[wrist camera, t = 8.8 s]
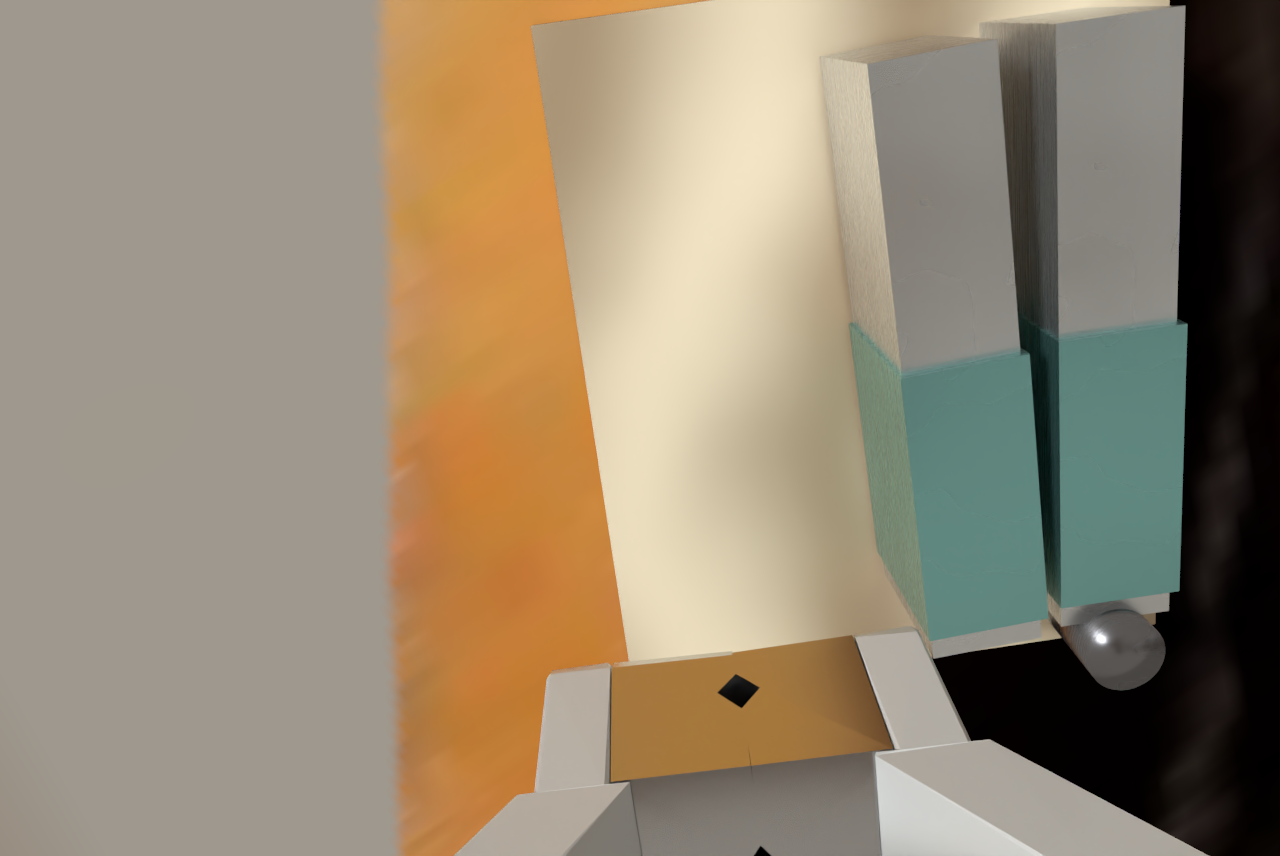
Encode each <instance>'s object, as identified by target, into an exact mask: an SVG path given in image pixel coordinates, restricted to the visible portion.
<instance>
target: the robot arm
mask: <svg viewBox="0 0 1280 856" xmlns="http://www.w3.org/2000/svg"><path fill="white" fill-rule="evenodd" d="M454 856H1208V855H1207V854H1205V853H1203V852H1201V851H1199V850H1197V849H1195V848H1193V847H1191V846H1190V845H1188V844H1186V843H1184V842H1182V841H1180V840H1178V839H1176V838H1175V837H1173V836H1171V835H1169V834H1167V833H1165V832H1163V831H1161V830H1159V829H1158V828H1156V827H1154V826H1152V825H1150V824H1148V823H1146V822H1144V821H1142V820H1141V819H1139V818H1137V817H1135V816H1133V815H1131V814H1129V813H1127V812H1126V811H1124V810H1122V809H1120V808H1118V807H1116V806H1114V805H1112V804H1110V803H1109V802H1107V801H1105V800H1103V799H1101V798H1099V797H1097V796H1095V795H1093V794H1092V793H1090V792H1088V791H1086V790H1084V789H1082V788H1080V787H1078V786H1077V785H1075V784H1073V783H1071V782H1069V781H1067V780H1065V779H1063V778H1061V777H1060V776H1058V775H1056V774H1054V773H1052V772H1050V771H1048V770H1046V769H1044V768H1043V767H1041V766H1039V765H1037V764H1035V763H1033V762H1031V761H1029V760H1028V759H1026V758H1024V757H1022V756H1020V755H1018V754H1016V753H1014V752H1012V751H1011V750H1009V749H1007V748H1005V747H1003V746H1001V745H999V744H997V743H995V742H994V741H992V740H989V739H988V740H979V741H971V740H970V738H969V736H968V734H967V731H966V729H965V727H964V725H963V723H962V721H961V719H960V717H959V715H958V712H957V710H956V708H955V706H954V704H953V702H952V700H951V698H950V696H949V694H948V691H947V689H946V687H945V685H944V683H943V681H942V679H941V677H940V675H939V672H938V670H937V668H936V666H935V664H934V662H933V660H932V658H931V656H930V654H929V651H928V649H927V647H926V645H925V643H924V641H923V639H922V637H921V635H920V632H919V630H917V629H916V628H914V627H912V626H906V627H899V628H893V629H887V630H881V631H875V632H869V633H862V634H856V635H849V636H843V637H836V638H829V639H822V640H815V641H808V642H802V643H795V644H788V645H781V646H774V647H767V648H761V649H754V650H747V651H740V652H733V653H732V651H728V652H718V653H708V654H698V655H688V656H679V657H669V658H659V659H649V660H639V661H629V662H619V663H613V666H611V665H610V664H609V663H603V664H596V665H589V666H581V667H574V668H567V669H559V670H553V671H552V672H551V673H550V675H549V676H548V678H547V682H546V691H545V701H544V710H543V719H542V728H541V737H540V746H539V756H538V765H537V774H536V783H535V792H534V793H529V794H521V795H517V796H515V797H514V798H513V799H512V800H511V801H510V802H509V803H508V804H507V805H506V806H505V807H504V808H503V809H502V810H501V811H500V812H499V813H498V814H497V815H496V816H495V817H493V818H492V819H491V820H490V821H489V822H488V823H487V824H486V825H485V826H484V827H483V828H482V829H481V830H480V831H479V832H478V833H477V834H476V835H475V836H474V837H473V838H472V839H471V840H470V841H468V842H467V843H466V844H465V845H464V846H463V847H462V848H461V849H460V850H459V851H458V852H457V853H456V854H455V855H454Z"/></svg>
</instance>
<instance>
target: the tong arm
mask: <svg viewBox="0 0 1280 856" xmlns="http://www.w3.org/2000/svg"><path fill="white" fill-rule="evenodd" d="M820 65H821V73H822V81H823V89H824V97H825V105H826V113H827V121H828V129H829V137H830V145H831V153H832V161H833V169H834V177H835V185H836V193H837V201H838V209H839V217H840V225H841V233H842V241H843V249H844V257H845V265H846V273H847V281H848V289H849V297H850V305H851V313H852V321H853V322H851V323H849V330H850V338H851V346H852V354H853V362H854V370H855V378H856V386H857V394H858V402H859V410H860V418H861V425H862V433H863V441H864V449H865V457H866V465H867V473H868V481H869V489H870V497H871V505H872V513H873V521H874V528H875V536H876V544H877V552H878V553H879V555H880V557H881V559H882V561H883V569H884V573H885V575H886V577H887V578H888V580H889V582H890V584H891V585H892V587H893V589H894V591H895V592H896V594H897V596H898V598H899V599H900V601H901V603H902V605H903V606H904V608H905V610H906V611H907V613H908V615H909V617H910V618H911V620H912V622H913V624H914V625H915V627H916V629H917V630H919V632H920V635H921V637H922V639H923V641H924V643H925V645H926V646H927V648H928V650H929V652H930V653H931V655H932V657H933V659H934V658H939V657H944V656H950V655H955V654H960V653H965V652H970V651H975V650H981V649H986V648H991V647H996V646H1001V645H1006V644H1012V643H1017V642H1022V641H1027V640H1032V639H1037V638H1042V636H1041V622H1040V620H1043V619H1048V618H1049V617H1048V603H1047V589H1046V575H1045V561H1044V547H1043V533H1042V519H1041V505H1040V491H1039V477H1038V463H1037V449H1036V435H1035V421H1034V407H1033V393H1032V379H1031V365H1030V354H1029V353H1028V352H1026V351H1025V350H1024V349H1022V348H1021V347H1020V339H1019V326H1018V312H1017V299H1016V286H1015V272H1014V259H1013V245H1012V232H1011V218H1010V205H1009V191H1008V178H1007V164H1006V151H1005V137H1004V124H1003V111H1002V97H1001V84H1000V70H999V57H998V43H997V39H993V38H974V37H956V36H937V35H927V36H922V37H917V38H911V39H906V40H901V41H896V42H891V43H886V44H881V45H876V46H871V47H866V48H860V49H855V50H850V51H845V52H840V53H835V54H830V55H825V56H820Z"/></svg>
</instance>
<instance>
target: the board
mask: <svg viewBox="0 0 1280 856" xmlns="http://www.w3.org/2000/svg"><path fill="white" fill-rule="evenodd" d="M1126 6H1170V0H710V1H703V2H696V3H689V4H682V5H675V6H667V7H660V8H653V9H646V10H639V11H632V12H625V13H617V14H610V15H603V16H596V17H589V18H582V19H575V20H568V21H560V22H553V23H546V24H539V25H532V26H531V30H532V37H533V43H534V50H535V56H536V63H537V69H538V76H539V82H540V88H541V95H542V101H543V108H544V114H545V121H546V127H547V134H548V140H549V147H550V153H551V160H552V166H553V172H554V179H555V185H556V192H557V198H558V205H559V211H560V218H561V224H562V231H563V237H564V244H565V250H566V256H567V263H568V269H569V276H570V282H571V289H572V295H573V302H574V308H575V315H576V321H577V328H578V334H579V340H580V347H581V353H582V360H583V366H584V373H585V379H586V386H587V392H588V399H589V405H590V412H591V418H592V425H593V431H594V437H595V444H596V450H597V457H598V463H599V470H600V476H601V483H602V489H603V496H604V502H605V509H606V515H607V521H608V528H609V534H610V541H611V547H612V554H613V560H614V567H615V573H616V580H617V586H618V593H619V599H620V605H621V612H622V618H623V625H624V631H625V638H626V644H627V651H628V657H629V661H639V660H649V659H659V658H669V657H679V656H688V655H698V654H708V653H718V652H728V651H732V653H733V652H740V651H747V650H754V649H761V648H767V647H774V646H781V645H788V644H795V643H802V642H808V641H815V640H822V639H829V638H836V637H843V636H849V635H856V634H862V633H869V632H875V631H881V630H887V629H893V628H899V627H906V626H912V627H914V628H916V627H915V625H914V624H913V622H912V620H911V618H910V617H909V615H908V613H907V611H906V610H905V608H904V606H903V605H902V603H901V601H900V599H899V598H898V596H897V594H896V592H895V591H894V589H893V587H892V585H891V584H890V582H889V580H888V578H887V577H886V575H885V573H884V569H883V561H882V559H881V557H880V555H879V553H878V552H877V544H876V536H875V528H874V521H873V513H872V505H871V497H870V489H869V481H868V473H867V465H866V457H865V449H864V441H863V433H862V425H861V418H860V410H859V402H858V394H857V386H856V378H855V370H854V362H853V354H852V346H851V338H850V330H849V323H851V322H853V321H852V313H851V305H850V297H849V289H848V281H847V273H846V265H845V257H844V249H843V241H842V233H841V225H840V217H839V209H838V201H837V193H836V185H835V177H834V169H833V161H832V153H831V145H830V137H829V129H828V121H827V113H826V105H825V97H824V89H823V81H822V73H821V65H820V56H825V55H830V54H835V53H840V52H845V51H850V50H855V49H860V48H866V47H871V46H876V45H881V44H886V43H891V42H896V41H901V40H906V39H911V38H917V37H922V36H927V35H937V36H956V37H974V38H979V22H986V21H993V20H1000V19H1007V18H1014V17H1021V16H1029V15H1036V14H1043V13H1050V12H1057V11H1064V10H1071V9H1078V8H1085V7H1126ZM1143 616H1144V617H1145V618H1146V619H1147V621H1148V622H1149V623H1150V624H1151V625H1153V624H1155V619H1156V613H1151V614H1144V615H1143ZM1040 622H1041V636H1042V638H1037V639H1032V640H1027V641H1022V642H1017V643H1012V644H1006V645H1001V646H996V647H991V648H997V647H1004V646H1011V645H1018V644H1024V643H1031V642H1038V641H1045V640H1051V639H1058V638H1062V637H1061V636H1060V635H1059V634H1058V632H1057V631H1056V630H1055V629H1054V627H1053V626H1052V625H1051V624H1050V622H1049V621H1048V620H1047V619H1043V620H1040ZM926 647H927V646H926ZM927 649H928V648H927ZM986 649H990V648H986ZM981 650H984V649H981ZM928 651H929V650H928ZM975 651H977V650H975ZM929 654H930V656H931V657H932V655H931V653H930V652H929Z"/></svg>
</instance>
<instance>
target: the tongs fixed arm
mask: <svg viewBox="0 0 1280 856" xmlns="http://www.w3.org/2000/svg"><path fill="white" fill-rule="evenodd" d="M979 38H993V39H997V43H998V57H999V70H1000V84H1001V97H1002V111H1003V124H1004V137H1005V151H1006V164H1007V178H1008V191H1009V205H1010V218H1011V232H1012V245H1013V259H1014V272H1015V286H1016V299H1017V312H1018V326H1019V339H1020V347H1021V348H1022V349H1024V350H1025V351H1026V352H1028V353H1029V354H1030V365H1031V379H1032V393H1033V407H1034V421H1035V435H1036V449H1037V463H1038V477H1039V491H1040V505H1041V519H1042V533H1043V547H1044V561H1045V575H1046V589H1047V603H1048V617H1049V618H1048V619H1047V620H1048V621H1049V622H1050V624H1051V625H1052V626H1053V627H1054V629H1055V630H1056V631H1057V632H1058V634H1059V635H1060V636H1061V637H1062V639H1063V640H1064V641H1065V642H1066V644H1067V645H1068V646H1069V647H1070V649H1071V650H1072V651H1073V652H1074V654H1075V655H1076V656H1077V657H1078V659H1079V660H1080V661H1081V662H1082V664H1083V665H1084V666H1085V667H1086V669H1087V670H1088V671H1089V672H1090V674H1091V675H1092V676H1093V677H1094V679H1095V680H1096V681H1097V682H1098V683H1099V684H1101V685H1102V686H1104V687H1106V688H1109V689H1113V690H1128V689H1133V688H1136V687H1138V686H1140V685H1142V684H1144V683H1146V682H1147V681H1149V680H1150V679H1151V678H1152V677H1153V676H1154V675H1155V674H1156V673H1157V672H1158V670H1159V669H1160V667H1161V665H1162V663H1163V661H1164V657H1165V643H1164V640H1163V638H1162V636H1161V634H1160V633H1159V632H1158V631H1157V630H1156V629H1155V628H1154V627H1153V626H1152V625H1151V624H1150V623H1149V622H1148V621H1147V619H1146V618H1145V617H1144V616H1143V615H1144V614H1151V613H1157V612H1164V611H1169V593H1170V592H1177V591H1179V587H1180V555H1181V522H1182V489H1183V456H1184V423H1185V391H1186V358H1187V325H1188V324H1187V323H1185V322H1183V321H1181V320H1179V319H1177V295H1178V259H1179V222H1180V185H1181V149H1182V112H1183V75H1184V38H1185V6H1126V7H1085V8H1078V9H1071V10H1064V11H1057V12H1050V13H1043V14H1036V15H1029V16H1021V17H1014V18H1007V19H1000V20H993V21H986V22H979Z"/></svg>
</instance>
